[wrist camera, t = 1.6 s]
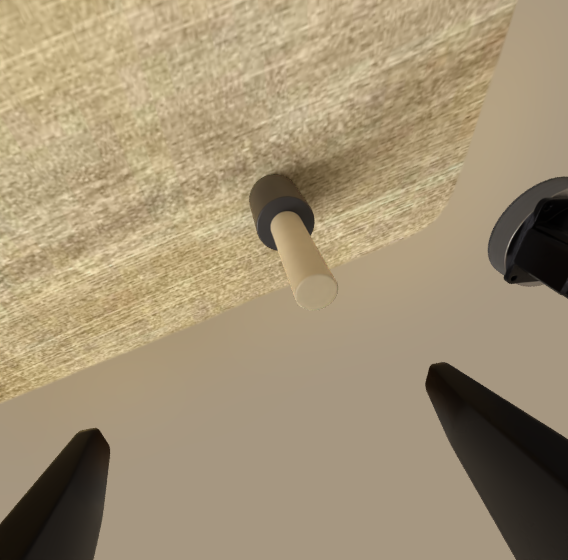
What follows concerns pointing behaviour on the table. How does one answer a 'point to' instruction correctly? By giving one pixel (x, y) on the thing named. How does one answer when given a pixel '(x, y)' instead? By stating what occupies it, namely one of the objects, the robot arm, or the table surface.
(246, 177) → the table surface
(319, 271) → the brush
